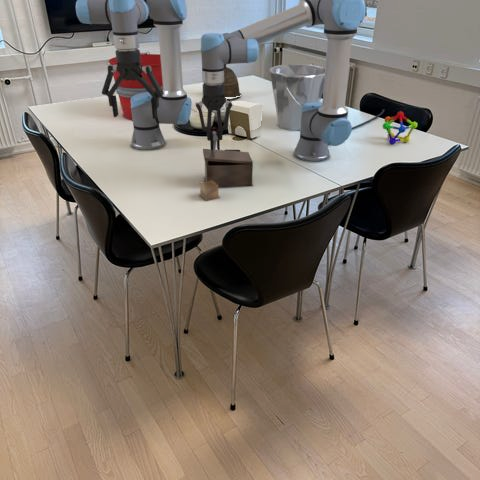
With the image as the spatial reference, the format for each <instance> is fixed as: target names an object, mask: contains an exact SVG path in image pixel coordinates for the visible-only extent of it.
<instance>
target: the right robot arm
mask: <svg viewBox="0 0 480 480" xmlns="http://www.w3.org/2000/svg"><path fill="white" fill-rule="evenodd" d="M366 9H367V8H366V3H365V0H300V1H299V3H298V4H297V5H295V6H292V7H289V8H288V9H285V10H283V11H280V12H277V13H276V14H273V15H270V16H269V17H268V16H267V17H266V18H263V19H261V20H258V21H256V22H254V23H251V24H249V25H246V26H244V27H242V28H239V29H237V30H234V31H232V32H223V33H218V32H217V33H216V32H215V33H214V32H209V33H208V32H207V33H204V34H202V35H201V37H200V56H201V79H202V80H201V81H202V83H203V84H202V98H201V100H200V101H198V102H197V101H196V102H195V108H196V109H197V111H198V116H199V121H200V126H201V130H202V131H203V132H206V140H207V141H208V142H210V148H209V149H211V150H213V130H212V116H213V115H212V114H213V112H214V111H215V112H216V119H217V126H218V129H217V130H216V134H217V137H218V141H216V148H217V149H216V150H221V141H223V132H224V131H227V130H228V127H229V121H230V112H231V109H232V108H233V102H232V101H231V100H226V98H225V96H224V84H223V82H224V64H226V65H236V64H251V63H256V62H257V61H258V58H259V56H260V46H261V45H263V44H266V43H268V42H270V41H272V40H275V39H277V38H280V37H282V36H285V35H287V34H290V33H292V32H295V31H297V30H298V29H299V30H300V29H302V28H304V27H305V28H312V27H314V26H318V25H323V26H324V27H323V35H324V36H325V37H326V39H327V42H326V54H325V64H324V65H325V67H324V68H325V78H324V91H323V94H322V100H323V102H322V101H320V102H311V103H306V104H304V105H303V107H302V112H301V113H302V116H301V129H300V130H299V139H298V141H297V143H296V147H295V149H294V157H295V158H296V159H298V160H300V161H305V162H312V163H313V162H315V163H316V162H317V163H318V162H323V161H326V160H328V159H329V158H330V149H329V146H331V147H338V146H340V145H342V144H345V142H346V141H347V140H348V139H349V138H350V136H351V134H352V130H354V129H357V128H359V127H361V126H364V125H366V124H368V123H370V122H372V121H375V120H376V119H377V118H379V117H380V116H382V115H383V114H384V112H386V111H385V109H383V108H382V110H381V112H380V113H379V114H377V115H375V116H374V117H372V118H370V119H368V120H366V121H364V122H362V123H359V124H357V125H355V126H353V125H352V123H351V121H350V120H349V119H348V118H349V109H348V108H347V106H346V98H347V97H346V96H347V88H348V81H349V80H348V78H349V69H350V59H351V51H352V50H351V49H352V40H353V38H354V37H356V35H357V34H358V28H359V27H360V26H361V23H363V22H364V20H365V17H366ZM203 105H204V107H205V108H206V110H207V117H206V118H207V119H206V123H205V118H204V114H203ZM224 106H225V112H224V120H223V124H222V112H221V111H222V108H223V107H224Z"/></svg>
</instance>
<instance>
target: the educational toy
mask: <svg viewBox="0 0 480 480" xmlns="http://www.w3.org/2000/svg"><path fill="white" fill-rule="evenodd" d="M397 119H399V124H400V125H399V127H398V126H393V125H391V124H392V123H394V122H395V121H396V120H397ZM403 120H404V121H405V122H407V123H408V124H409V125H407V126H404V123H403ZM417 127H418V122H417V121H411V120H410V119H409V118H408V117H406V116H405V113H404V112H403V111H401V110H400V111H398V112H397V114H396V115H394V116H391V117H390V116H386V117H385V118H384V122H383V123H382V129H383V130H386V132H387V138H388V142H389V145H395V144H396V143H397V142H402V141H403V142H404V143H409V142H410V140H411V138H410V136H411V134H412V132H413V131H414V130H415V129H417ZM392 129H393V130H397V131H398V132H396V134H395V133H394V132H392ZM408 129H409V131H408V133H407V134H406V135H404V136H401V134H403V133H405V132H406V130H408ZM399 135H400V136H399Z"/></svg>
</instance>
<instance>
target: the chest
mask: <svg viewBox="0 0 480 480" xmlns="http://www.w3.org/2000/svg"><path fill="white" fill-rule="evenodd" d="M253 164H254V163H253ZM253 164H244V163H231V162H217V161H205V160H204V178H205V182H207V181H211V180H212V181H214V182H215V183H216V184H217V185H218V189H219V188H235V187H236V188H238V187H252V186H253V171H254V170H253Z"/></svg>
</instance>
